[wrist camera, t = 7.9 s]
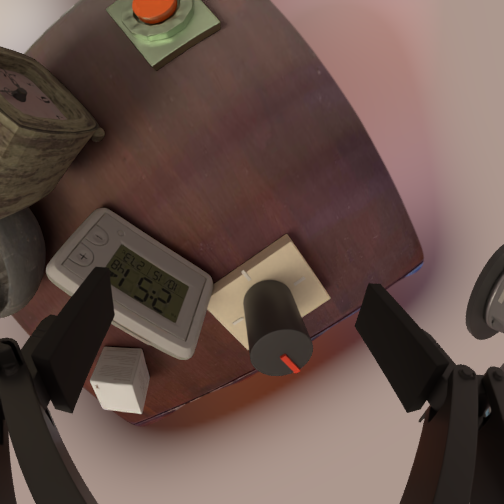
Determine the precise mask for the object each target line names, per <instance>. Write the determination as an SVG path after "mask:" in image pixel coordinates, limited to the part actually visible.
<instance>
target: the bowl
mask: <svg viewBox="0 0 504 504" xmlns="http://www.w3.org/2000/svg"><path fill="white" fill-rule="evenodd" d="M45 258H46V250H45V242H44V238H43V234H42V231H41V228H40V226H39V223H38V221H37V219H36V217H35V216H34V214H33V213H32V211H31V210H30V209H29V207H27V208H24V209H22V210H20V211H18V212H16V213H14V214H11V215H9V216H7V217H4V218H2V219H0V318H3V317H7V316H9V315H12V314H14V313H16V312H18V311H19V310H21V309H22V308H23V307H25V306H26V305H27V304H28V303H29V301H30V300H31V299H32V298H33V296H34V295H35V293H36V292H37V290H38V287H39V285H40V282H41V280H42V277H43V273H44V268H45Z"/></svg>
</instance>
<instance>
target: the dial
mask: <svg viewBox="0 0 504 504" xmlns="http://www.w3.org/2000/svg"><path fill="white" fill-rule="evenodd" d="M243 306H244V314H245V322H246V330H247V337H248V345H249V353H250V359H251V363H252V365H253V366H254V367H255V368H256V369H257V370H258V371H259V372H261V373H263V374H267V375H271V376H283V375H287V374H291V373H293V372H294V373H295V374H296V373H298V372H300V369H301V368H302V367H303V366H304V365H305V364H306V363H307V362H308V361H309V359H310V357H311V355H312V352H313V345H312V341H311V339H310V336H309V334H308V332H307V329H306V327H305V324H304V322H303V319H302V317H301V314H300V312H299V310H298V307H297V305H296V302H295V300H294V298H293V295H292V293H291V291H290V289H289V288H288V287H287V286H286V285H285V284H283V283H282V282H279V281H276V280H264V281H261V282H258V283H256V284H254V285H253V286H252V287H251V288H250V289H249V290H248V291H247V292H246V294H245V296H244V300H243Z"/></svg>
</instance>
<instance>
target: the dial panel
mask: <svg viewBox="0 0 504 504" xmlns="http://www.w3.org/2000/svg"><path fill="white" fill-rule="evenodd" d="M264 280H276V281H279V282H282V283H283V284H285V285H286V286H287V287H288V288H289V289H290V291H291V293H292V295H293V298H294V300H295V302H296V305H297V307H298V310H299V312H300V314H301V317H303V316H305V315H306V314H308V313H309V312H311V311H312V310H314V309H315V308H317V307H318V306H320V305H321V304H323V303H324V302H326V301H327V300H329V299H330V296H329V295H328V293H327V291H326V290H325V288H324V287H323V285H322V284H321V282H320V281H319V279H318V278H317V276H316V275H315V273H314V272H313V270H312V269H311V267H310V266H309V265H308V263H307V262H306V260H305V259H304V257H303V256H302V254H301V253H300V252H299V250H298V249H297V247H296V246H295V244H294V243H293V242H292V240H291V239H290V237H289V236H288V234H285V235H284V236H282V237H281V238H280V239H278V240H277V241H275V242H274V243H272V244H271V245H269V246H268V247H267V248H265V249H264V250H262V251H261V252H259V253H258V254H256V255H255V256H254V257H252V258H251V259H249V260H248V261H246V262H245V263H243V264H242V265H241V266H239V267H238V268H236V269H235V270H233V271H232V272H230V273H229V274H228V275H226V276H225V277H223V278H222V279H220V280H219V281H217V282H216V283H215V284H213V290H212V294H211V297H210V300H209V304H208V307H207V309H208V310H209V311H210V312H211V313H212V314H213V315H214V316H215V317H216V318H217V319H218V320H219V322H220V323H221V324H222V325H223V326H224V327H225V328H226V329H227V330H228V331H229V332H230V333H231V334H232V335H233V336H234V337H235V338H236V339H237V340H238V341H239V342H240V343H241V344H243V345H244V346H245V347H246V348H247V349H248V350H249V345H248V337H247V330H246V322H245V314H244V306H243V300H244V296H245V294H246V292H247V291H248V290H249V289H250V288H251V287H252V286H253V285H254V284H256V283H258V282H261V281H264Z"/></svg>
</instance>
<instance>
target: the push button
mask: <svg viewBox="0 0 504 504" xmlns="http://www.w3.org/2000/svg"><path fill="white" fill-rule="evenodd" d="M176 8H177V0H133V3H132V9H133V11H134V13H135V14H136V15H137V17H138V18H139V19H140V20H141V21H143V22H145V23H149V24H154V23H159V22H162V21H164V20H166V19H168V18H169V17H170V16H171V15H172V14H173V13H174V12H175V10H176Z"/></svg>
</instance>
